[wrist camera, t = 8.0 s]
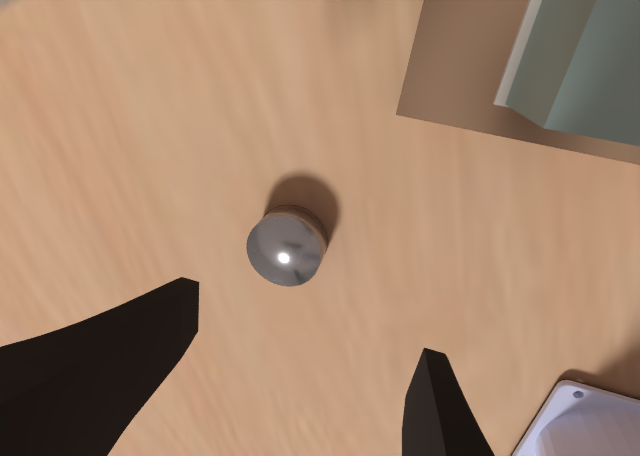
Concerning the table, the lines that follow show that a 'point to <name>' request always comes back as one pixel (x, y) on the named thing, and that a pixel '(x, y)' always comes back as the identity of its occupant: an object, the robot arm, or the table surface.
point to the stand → (482, 74)
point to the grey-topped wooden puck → (287, 245)
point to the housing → (582, 70)
